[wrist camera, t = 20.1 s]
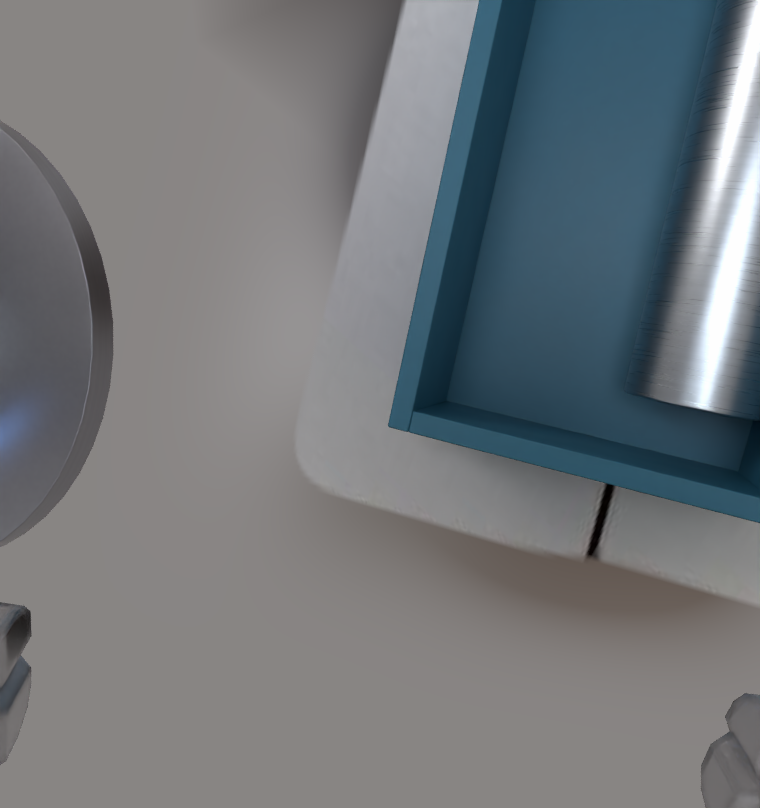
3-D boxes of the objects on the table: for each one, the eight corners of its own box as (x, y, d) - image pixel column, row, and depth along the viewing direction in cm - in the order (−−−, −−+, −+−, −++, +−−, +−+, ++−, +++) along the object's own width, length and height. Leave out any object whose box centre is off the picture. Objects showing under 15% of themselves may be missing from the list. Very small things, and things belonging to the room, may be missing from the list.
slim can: (636, 391, 30) (764, 419, 27) (610, 391, 26) (759, 424, 23) (747, -69, 27) (897, -80, 25) (740, -151, 23) (919, -174, 21)
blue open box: (428, 412, 33) (387, 426, 26) (564, -196, 29) (554, -352, 23) (750, 492, 29) (794, 532, 22) (945, -191, 26) (1063, -376, 19)
